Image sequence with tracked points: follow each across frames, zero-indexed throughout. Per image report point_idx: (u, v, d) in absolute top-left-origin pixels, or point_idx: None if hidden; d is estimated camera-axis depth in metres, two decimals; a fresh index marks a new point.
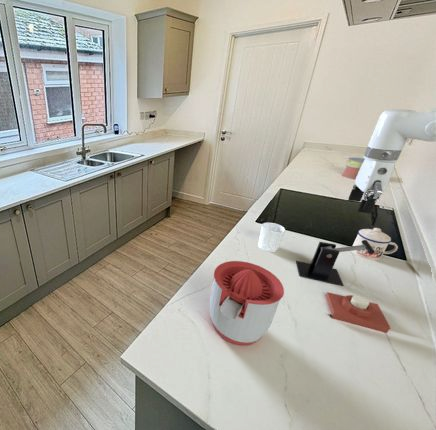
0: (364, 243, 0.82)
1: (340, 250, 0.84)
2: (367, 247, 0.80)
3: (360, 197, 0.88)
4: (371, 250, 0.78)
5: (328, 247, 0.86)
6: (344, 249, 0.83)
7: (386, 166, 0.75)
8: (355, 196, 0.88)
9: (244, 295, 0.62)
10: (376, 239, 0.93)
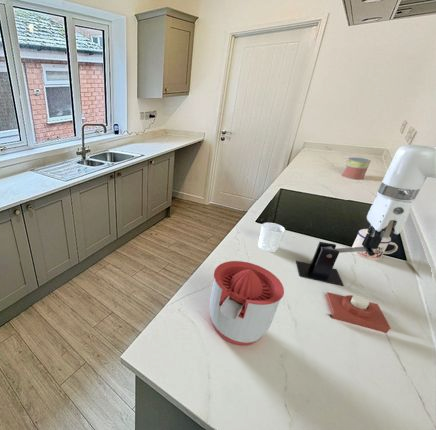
0: None
1: (340, 251, 0.84)
2: (367, 249, 0.80)
3: None
4: (371, 252, 0.78)
5: (328, 247, 0.86)
6: (344, 250, 0.83)
7: (403, 206, 0.69)
8: None
9: (244, 295, 0.62)
10: None
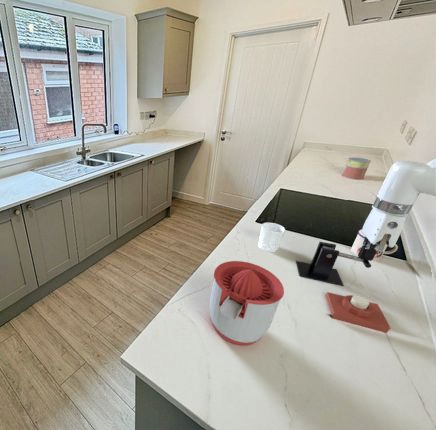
0: None
1: (339, 254, 0.84)
2: (365, 261, 0.81)
3: None
4: (369, 264, 0.80)
5: (330, 248, 0.85)
6: (343, 255, 0.84)
7: (397, 220, 0.71)
8: None
9: (244, 295, 0.62)
10: None
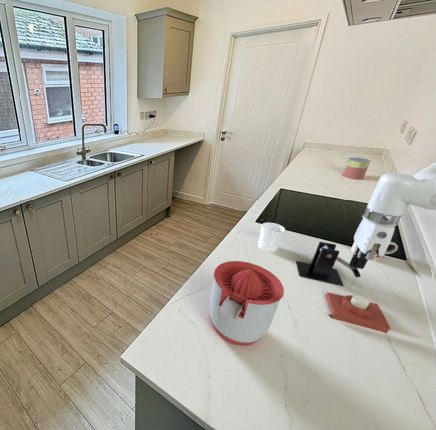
0: None
1: None
2: (356, 270, 0.83)
3: None
4: (359, 274, 0.82)
5: None
6: (340, 259, 0.85)
7: (386, 231, 0.73)
8: None
9: (244, 295, 0.62)
10: None
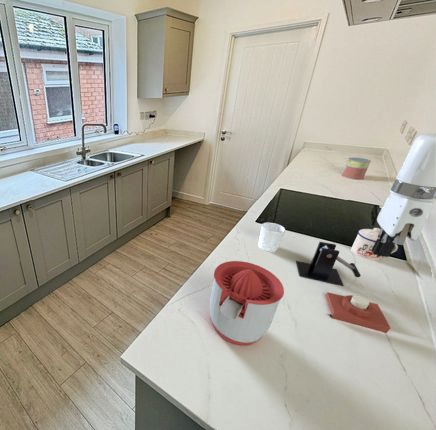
0: (354, 266, 0.85)
1: None
2: (356, 270, 0.83)
3: None
4: (359, 274, 0.82)
5: None
6: (340, 259, 0.85)
7: (422, 206, 0.58)
8: None
9: (244, 295, 0.62)
10: (376, 239, 0.93)
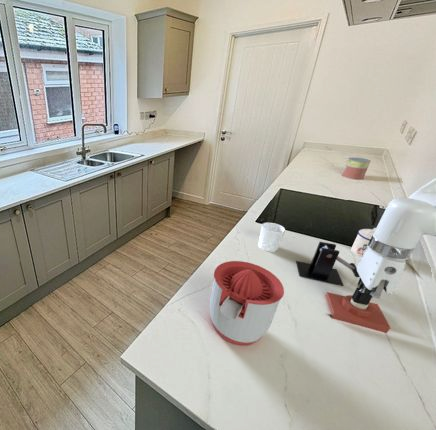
0: (354, 266, 0.85)
1: None
2: (356, 270, 0.83)
3: None
4: None
5: None
6: (340, 259, 0.85)
7: (395, 265, 0.62)
8: None
9: (244, 295, 0.62)
10: None
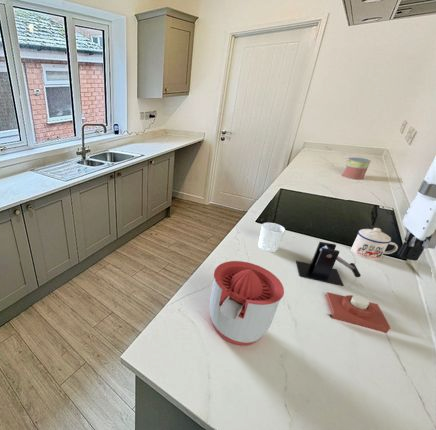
0: (354, 266, 0.85)
1: None
2: (356, 270, 0.83)
3: None
4: (359, 274, 0.82)
5: None
6: (340, 259, 0.85)
7: None
8: None
9: (244, 295, 0.62)
10: (376, 239, 0.93)
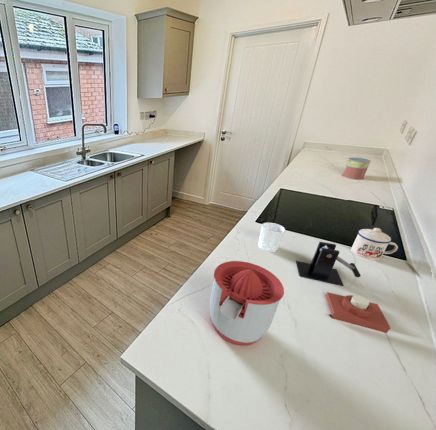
0: (354, 266, 0.85)
1: None
2: (356, 270, 0.83)
3: None
4: (359, 274, 0.82)
5: None
6: (340, 259, 0.85)
7: None
8: None
9: (244, 295, 0.62)
10: (376, 239, 0.93)
